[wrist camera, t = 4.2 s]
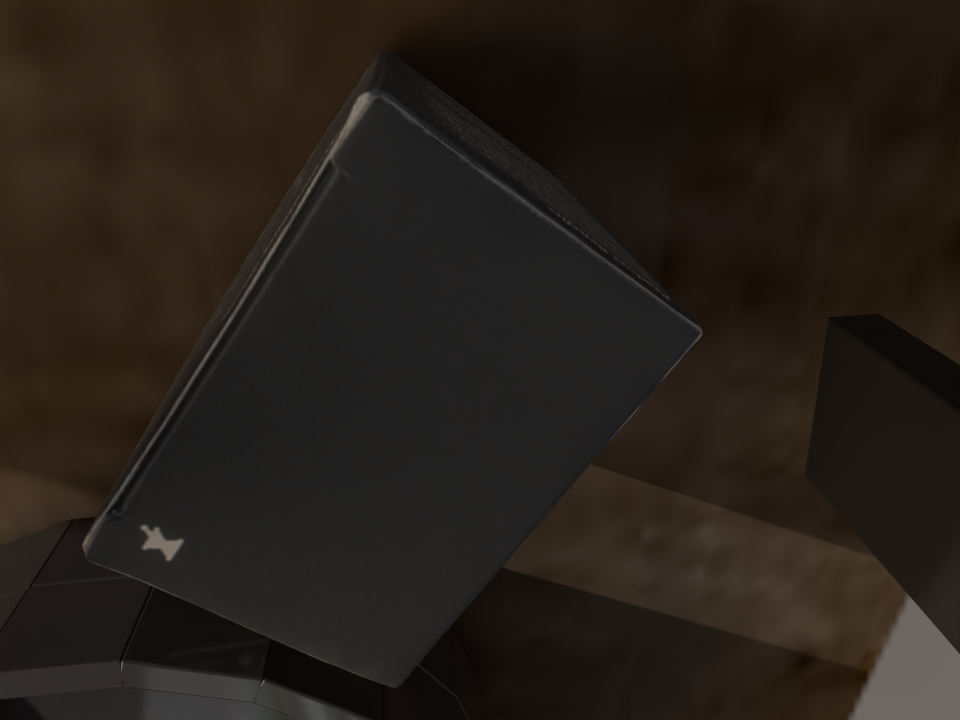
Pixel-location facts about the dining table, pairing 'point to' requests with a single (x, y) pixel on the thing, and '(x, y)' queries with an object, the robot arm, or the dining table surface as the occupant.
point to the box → (390, 388)
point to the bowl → (179, 654)
